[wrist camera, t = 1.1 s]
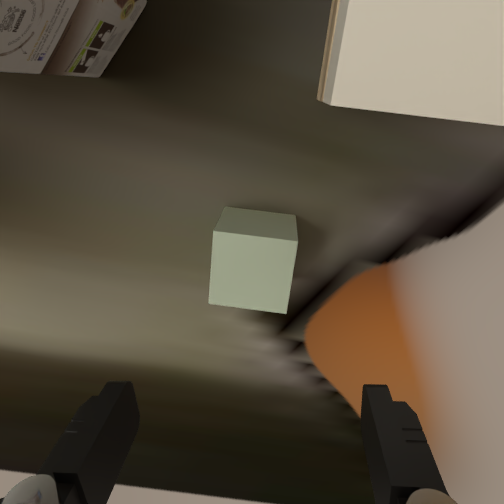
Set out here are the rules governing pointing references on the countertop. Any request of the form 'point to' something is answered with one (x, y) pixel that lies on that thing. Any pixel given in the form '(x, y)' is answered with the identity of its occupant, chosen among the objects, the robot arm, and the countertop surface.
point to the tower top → (420, 58)
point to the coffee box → (63, 35)
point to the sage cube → (253, 259)
